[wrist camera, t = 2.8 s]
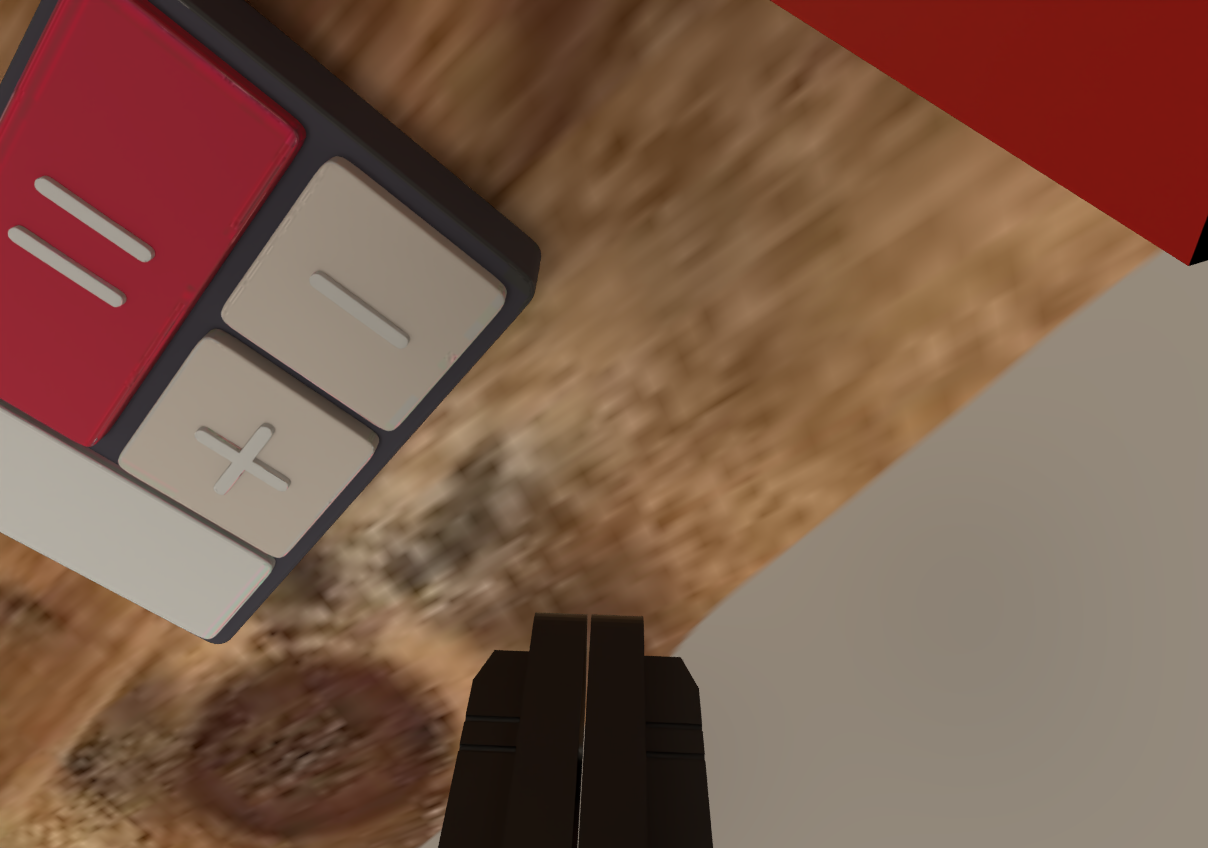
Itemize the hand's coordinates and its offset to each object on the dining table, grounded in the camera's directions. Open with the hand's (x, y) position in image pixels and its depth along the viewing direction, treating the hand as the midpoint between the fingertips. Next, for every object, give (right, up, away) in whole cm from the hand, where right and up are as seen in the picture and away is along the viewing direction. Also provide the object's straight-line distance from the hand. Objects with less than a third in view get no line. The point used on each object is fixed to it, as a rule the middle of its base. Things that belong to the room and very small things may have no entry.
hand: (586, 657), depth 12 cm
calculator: (-10, +6, +11) cm, 16 cm away
